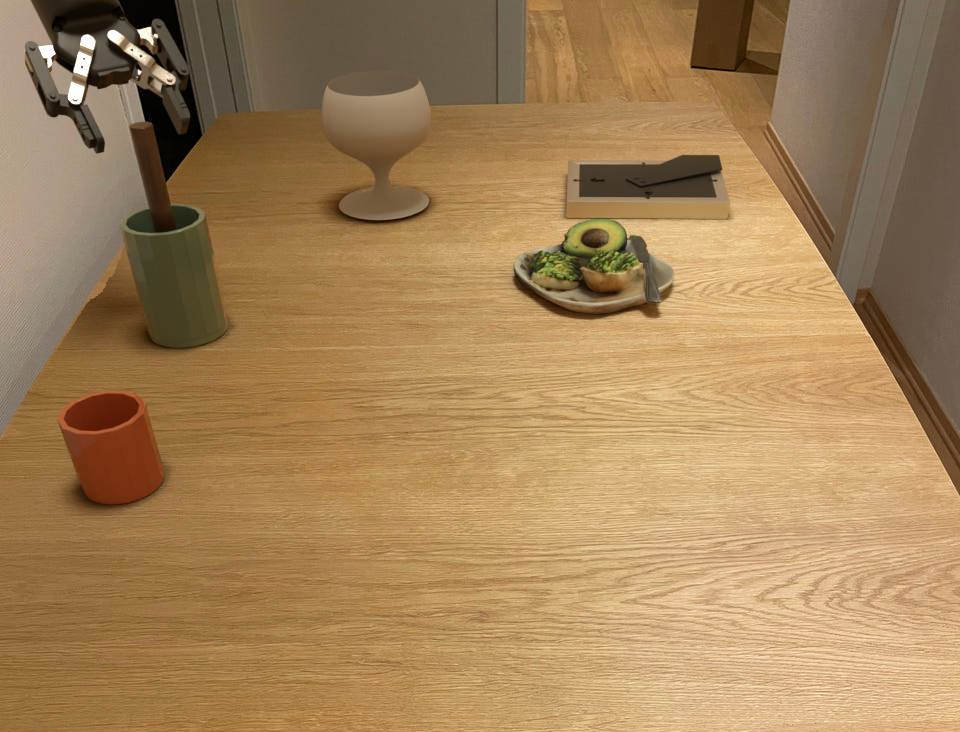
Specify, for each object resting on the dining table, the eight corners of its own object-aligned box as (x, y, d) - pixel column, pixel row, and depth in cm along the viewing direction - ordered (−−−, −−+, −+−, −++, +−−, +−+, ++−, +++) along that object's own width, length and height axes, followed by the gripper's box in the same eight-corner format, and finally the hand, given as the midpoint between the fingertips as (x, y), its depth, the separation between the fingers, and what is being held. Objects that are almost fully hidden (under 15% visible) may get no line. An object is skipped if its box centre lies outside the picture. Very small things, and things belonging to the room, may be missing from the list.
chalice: (367, 234, 129) (354, 106, 118) (313, 203, 137) (297, 81, 127) (456, 208, 134) (451, 84, 124) (399, 180, 143) (390, 61, 133)
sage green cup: (145, 351, 107) (114, 237, 99) (154, 315, 113) (126, 206, 105) (225, 344, 107) (201, 231, 99) (230, 310, 114) (207, 201, 105)
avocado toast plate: (717, 301, 112) (723, 260, 109) (578, 337, 107) (580, 295, 103) (624, 241, 125) (627, 203, 122) (496, 271, 119) (495, 232, 116)
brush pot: (76, 508, 86) (50, 437, 81) (90, 462, 91) (66, 393, 86) (159, 501, 87) (138, 430, 82) (168, 455, 92) (149, 386, 87)
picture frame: (716, 176, 141) (567, 175, 142) (719, 154, 139) (568, 154, 140) (727, 218, 129) (566, 217, 131) (730, 196, 128) (566, 195, 129)
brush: (164, 333, 108) (113, 133, 94) (169, 315, 111) (120, 119, 97) (206, 330, 108) (161, 130, 95) (209, 312, 111) (166, 116, 98)
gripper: (132, -3, 102) (204, 145, 104) (-9, 20, 97) (70, 177, 98) (139, -59, 96) (217, 100, 97) (-12, -38, 90) (72, 131, 91)
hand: (143, 138), depth 97 cm, fingers open, 8 cm apart
